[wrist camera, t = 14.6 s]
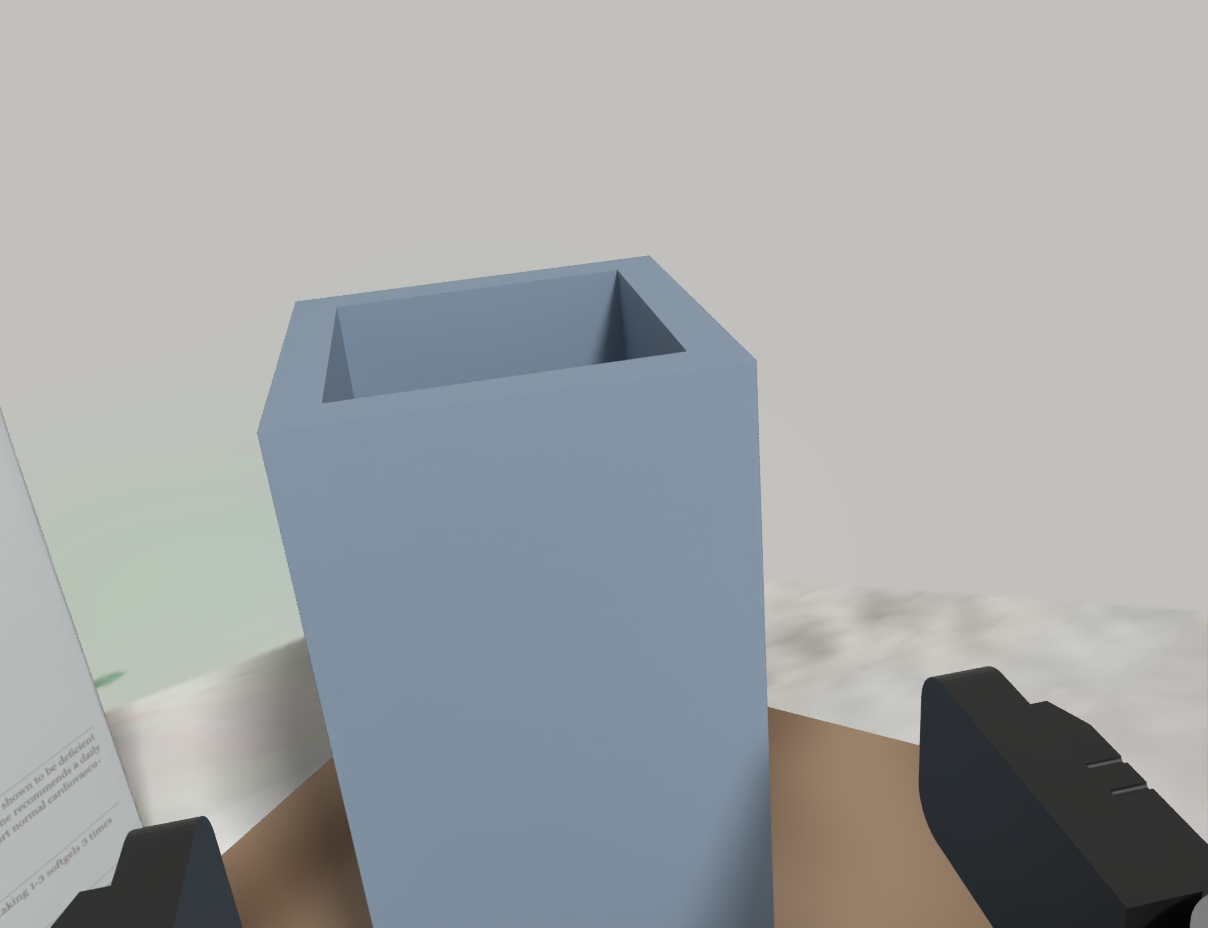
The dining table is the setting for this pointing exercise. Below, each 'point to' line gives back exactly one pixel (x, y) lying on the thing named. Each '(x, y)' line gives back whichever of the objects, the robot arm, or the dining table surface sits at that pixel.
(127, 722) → the dining table surface
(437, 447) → the sleeve
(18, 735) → the supplement box
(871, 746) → the base plate
